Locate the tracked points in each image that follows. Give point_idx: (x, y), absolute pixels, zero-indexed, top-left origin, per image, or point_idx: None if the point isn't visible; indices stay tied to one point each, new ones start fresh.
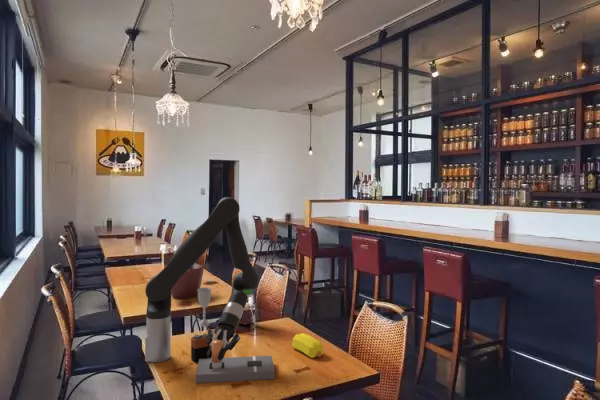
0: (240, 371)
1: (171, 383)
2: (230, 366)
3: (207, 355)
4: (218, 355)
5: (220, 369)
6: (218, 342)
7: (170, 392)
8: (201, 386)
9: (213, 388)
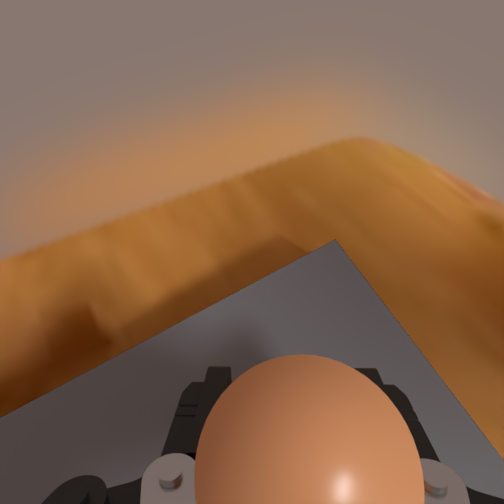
0: (32, 423)
1: (452, 212)
2: None
3: (370, 369)
4: (225, 377)
5: None
6: (254, 437)
7: (374, 144)
8: (270, 246)
9: (191, 252)
